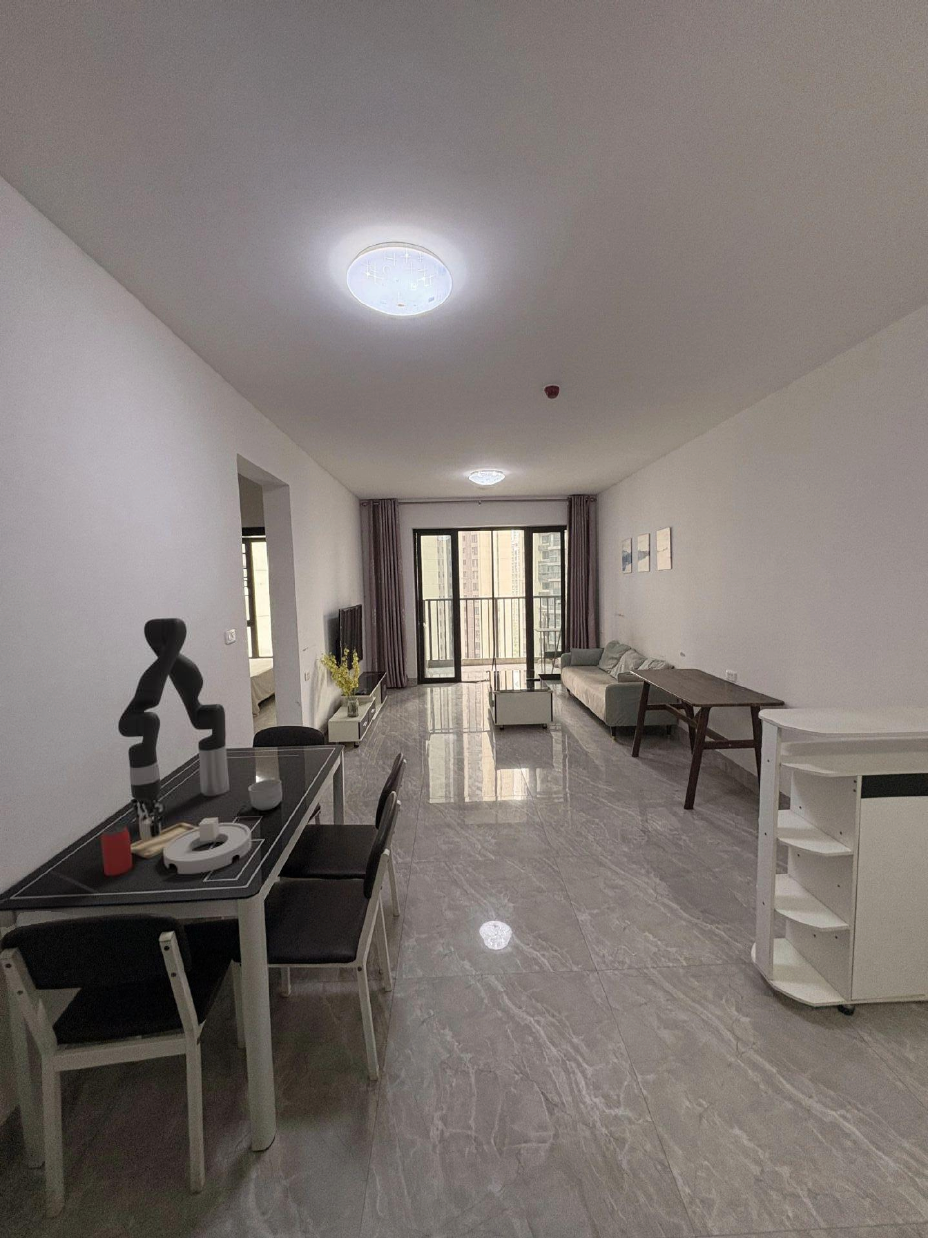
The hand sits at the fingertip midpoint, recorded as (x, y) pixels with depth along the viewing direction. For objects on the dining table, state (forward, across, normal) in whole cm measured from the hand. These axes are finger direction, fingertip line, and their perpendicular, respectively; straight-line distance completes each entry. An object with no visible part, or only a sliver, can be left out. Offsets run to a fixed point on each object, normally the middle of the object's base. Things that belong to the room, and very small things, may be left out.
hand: (151, 834), depth 164 cm
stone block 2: (+1, +17, +8) cm, 19 cm away
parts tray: (+4, 0, +4) cm, 6 cm away
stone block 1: (+1, 0, 0) cm, 1 cm away
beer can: (+4, +4, -12) cm, 13 cm away
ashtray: (+5, +18, +6) cm, 20 cm away
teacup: (+5, +7, +37) cm, 38 cm away
